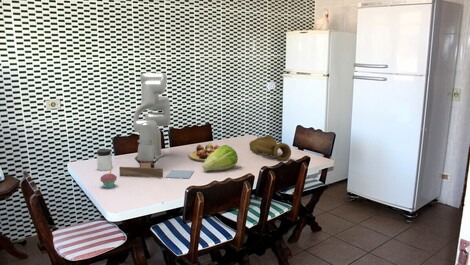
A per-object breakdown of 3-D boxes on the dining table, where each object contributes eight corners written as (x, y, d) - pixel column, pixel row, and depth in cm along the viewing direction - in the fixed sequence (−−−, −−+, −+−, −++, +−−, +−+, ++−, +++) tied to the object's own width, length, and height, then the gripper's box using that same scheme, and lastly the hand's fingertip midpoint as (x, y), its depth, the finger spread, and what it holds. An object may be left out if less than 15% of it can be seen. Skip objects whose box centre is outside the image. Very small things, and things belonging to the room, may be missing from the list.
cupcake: (118, 183, 212) (117, 163, 210) (114, 189, 204) (113, 167, 201) (103, 183, 212) (102, 163, 209) (98, 189, 203) (97, 167, 201)
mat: (171, 170, 236) (171, 169, 236) (193, 171, 235) (193, 170, 235) (165, 177, 223) (165, 176, 223) (189, 178, 222) (189, 177, 221)
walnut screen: (120, 175, 226) (120, 166, 225) (163, 177, 224) (162, 168, 223) (119, 176, 225) (119, 167, 224) (162, 177, 223) (162, 169, 222)
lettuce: (215, 182, 230) (201, 178, 243) (243, 162, 243) (229, 160, 256) (206, 161, 226) (193, 159, 239) (235, 142, 239) (221, 141, 251)
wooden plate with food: (213, 166, 249) (213, 154, 247) (179, 157, 268) (178, 146, 266) (241, 156, 274) (242, 145, 272) (208, 149, 293) (208, 138, 291)
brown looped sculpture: (280, 138, 288) (295, 140, 262) (274, 159, 288) (289, 163, 261) (252, 130, 282) (265, 131, 256) (247, 151, 282) (258, 154, 255)
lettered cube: (144, 169, 239) (143, 160, 237) (153, 169, 238) (153, 160, 237) (140, 172, 233) (140, 162, 231) (150, 172, 232) (150, 163, 231)
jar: (94, 169, 238) (93, 150, 236) (105, 166, 245) (104, 148, 242) (104, 171, 234) (103, 152, 231) (114, 168, 241) (113, 150, 238)
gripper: (130, 143, 229) (131, 171, 232) (158, 144, 227) (158, 172, 231) (134, 140, 236) (135, 168, 240) (161, 141, 235) (162, 169, 238)
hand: (147, 170), depth 235 cm, fingers closed on lettered cube, 6 cm apart
